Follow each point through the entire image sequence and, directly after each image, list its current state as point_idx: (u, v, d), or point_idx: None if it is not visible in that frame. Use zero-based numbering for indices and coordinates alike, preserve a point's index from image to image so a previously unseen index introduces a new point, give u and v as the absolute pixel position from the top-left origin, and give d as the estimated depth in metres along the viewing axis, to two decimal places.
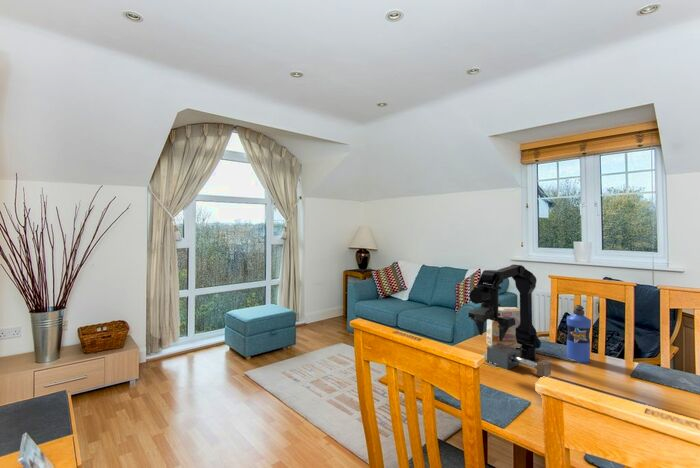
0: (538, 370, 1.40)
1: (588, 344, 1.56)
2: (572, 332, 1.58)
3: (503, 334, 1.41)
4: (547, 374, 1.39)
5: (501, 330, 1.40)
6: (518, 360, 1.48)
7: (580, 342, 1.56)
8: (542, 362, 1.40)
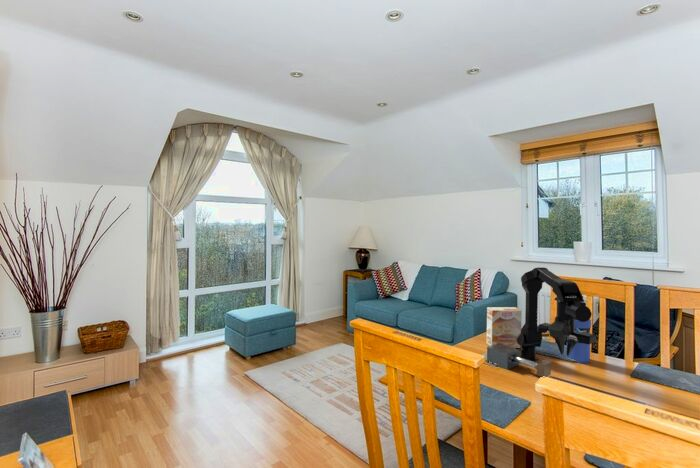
0: (538, 370, 1.40)
1: (588, 344, 1.56)
2: None
3: (571, 349, 1.32)
4: (547, 374, 1.39)
5: (570, 344, 1.31)
6: (518, 360, 1.48)
7: None
8: (542, 362, 1.40)
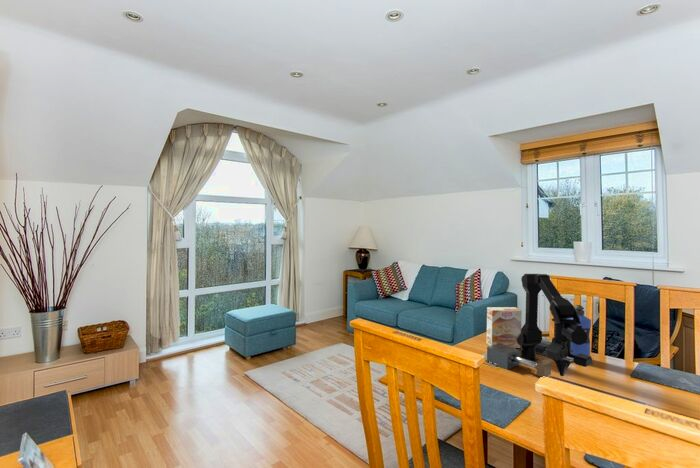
0: (538, 370, 1.40)
1: (588, 344, 1.56)
2: None
3: (565, 369, 1.34)
4: (547, 374, 1.39)
5: (564, 365, 1.32)
6: (518, 360, 1.48)
7: None
8: (542, 362, 1.40)
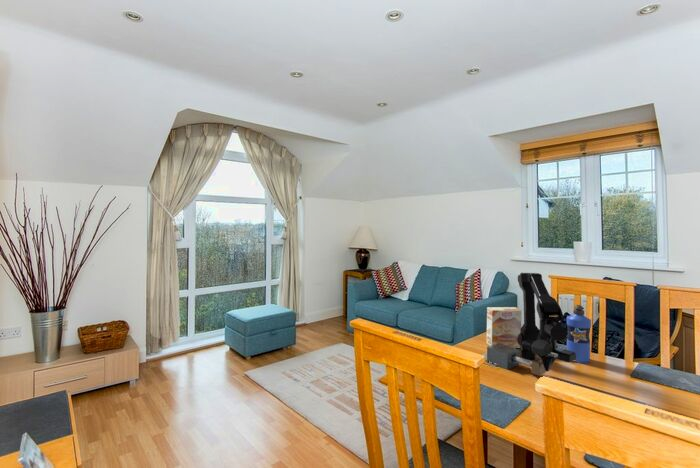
0: (533, 368, 1.41)
1: (588, 344, 1.56)
2: (572, 332, 1.58)
3: (550, 364, 1.38)
4: (542, 372, 1.41)
5: (549, 361, 1.37)
6: (513, 358, 1.50)
7: (580, 342, 1.56)
8: (537, 360, 1.42)
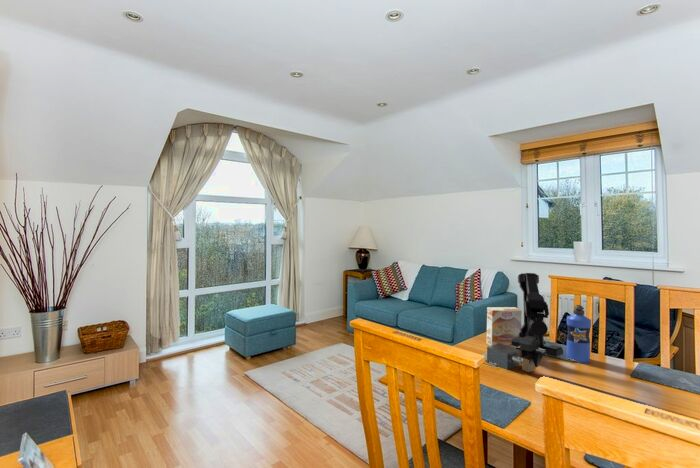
0: (523, 365, 1.45)
1: (588, 344, 1.56)
2: (572, 332, 1.58)
3: (539, 360, 1.42)
4: (532, 369, 1.44)
5: (537, 356, 1.41)
6: None
7: (580, 342, 1.56)
8: (527, 357, 1.45)
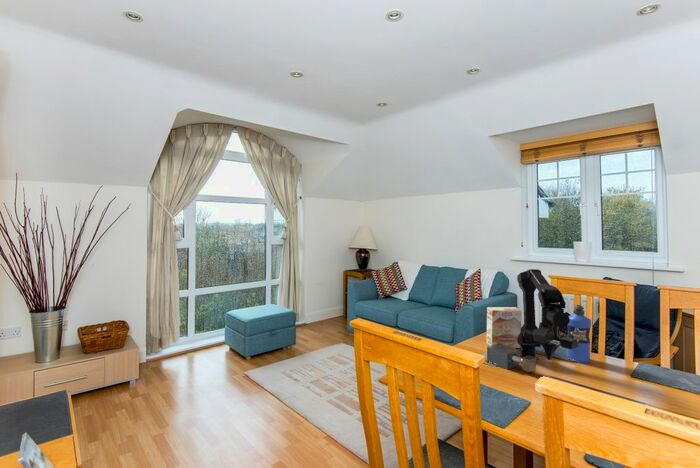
0: (524, 365, 1.45)
1: (588, 344, 1.56)
2: (572, 332, 1.58)
3: (553, 353, 1.37)
4: (532, 369, 1.44)
5: (551, 349, 1.36)
6: None
7: (580, 342, 1.56)
8: (528, 357, 1.45)
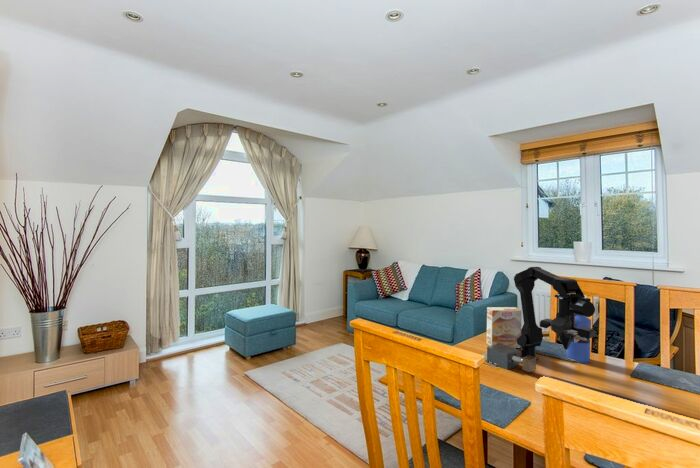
0: (524, 365, 1.45)
1: (588, 344, 1.56)
2: None
3: (569, 342, 1.39)
4: (532, 369, 1.44)
5: (568, 338, 1.38)
6: None
7: (580, 342, 1.56)
8: (528, 357, 1.45)
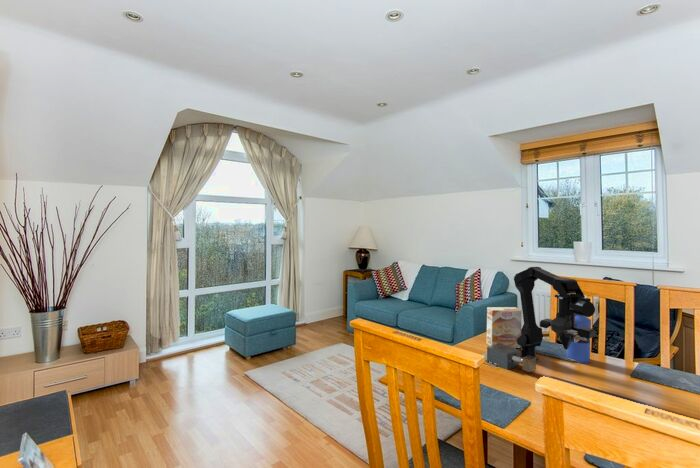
0: (524, 365, 1.45)
1: (588, 344, 1.56)
2: None
3: (569, 342, 1.39)
4: (532, 369, 1.44)
5: (568, 338, 1.38)
6: None
7: (580, 342, 1.56)
8: (528, 357, 1.45)
